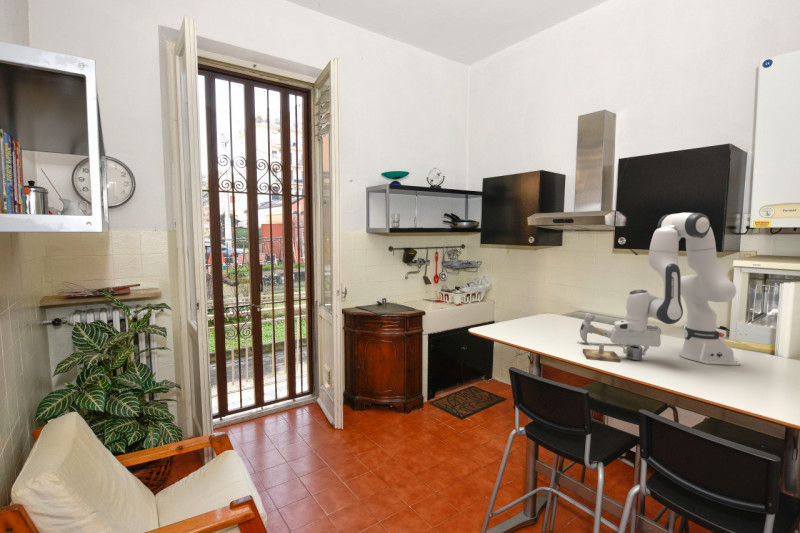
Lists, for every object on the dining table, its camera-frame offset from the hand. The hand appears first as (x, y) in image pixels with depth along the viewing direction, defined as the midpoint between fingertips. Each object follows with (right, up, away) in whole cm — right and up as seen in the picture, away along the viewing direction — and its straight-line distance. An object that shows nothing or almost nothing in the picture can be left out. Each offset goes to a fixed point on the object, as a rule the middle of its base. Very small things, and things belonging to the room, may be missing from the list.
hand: (634, 354), depth 189 cm
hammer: (+1, -1, +24) cm, 24 cm away
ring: (0, -2, 0) cm, 2 cm away
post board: (-14, -2, +3) cm, 15 cm away
